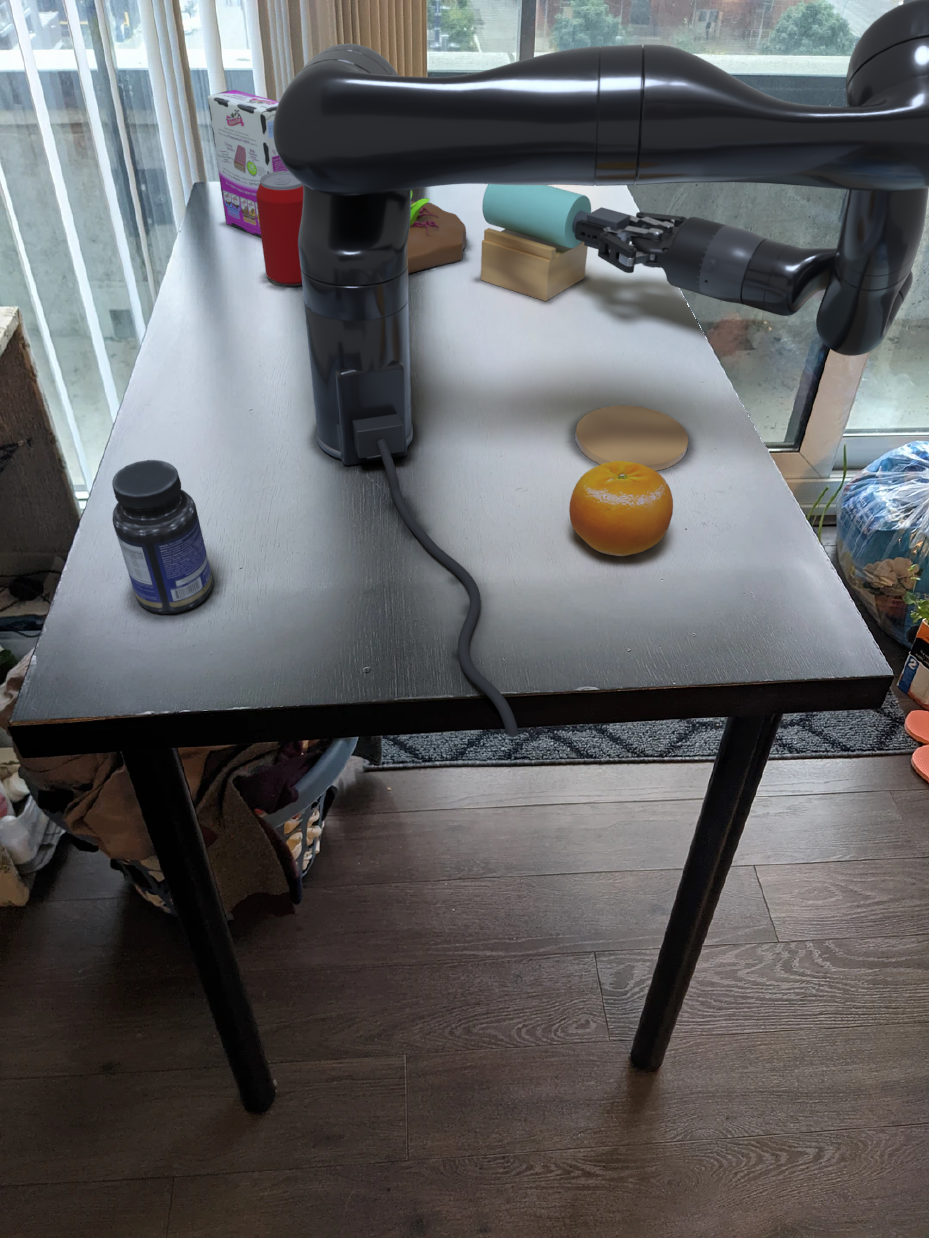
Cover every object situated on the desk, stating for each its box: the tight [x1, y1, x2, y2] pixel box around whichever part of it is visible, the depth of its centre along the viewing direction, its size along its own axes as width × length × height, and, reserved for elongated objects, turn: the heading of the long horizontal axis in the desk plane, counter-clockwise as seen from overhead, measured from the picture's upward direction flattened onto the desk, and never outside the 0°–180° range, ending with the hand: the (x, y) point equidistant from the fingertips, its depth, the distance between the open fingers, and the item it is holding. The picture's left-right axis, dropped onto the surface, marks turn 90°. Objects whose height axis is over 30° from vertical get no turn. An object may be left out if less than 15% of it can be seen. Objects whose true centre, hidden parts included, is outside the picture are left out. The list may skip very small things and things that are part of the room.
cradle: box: [480, 227, 589, 302], centre depth 119 cm, size 10×9×6 cm
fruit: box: [568, 461, 674, 557], centre depth 80 cm, size 8×8×8 cm
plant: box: [408, 190, 467, 275], centre depth 125 cm, size 20×20×11 cm
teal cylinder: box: [481, 184, 631, 250], centre depth 114 cm, size 18×6×6 cm, turn 53°
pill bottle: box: [111, 459, 214, 614], centre depth 73 cm, size 6×6×11 cm
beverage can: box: [256, 171, 303, 287], centre depth 116 cm, size 7×7×12 cm
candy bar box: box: [206, 89, 288, 238], centre depth 126 cm, size 11×5×16 cm, turn 49°
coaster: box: [574, 404, 689, 472], centre depth 94 cm, size 11×11×1 cm
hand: (586, 224), depth 113 cm, fingers closed on teal cylinder, 3 cm apart
